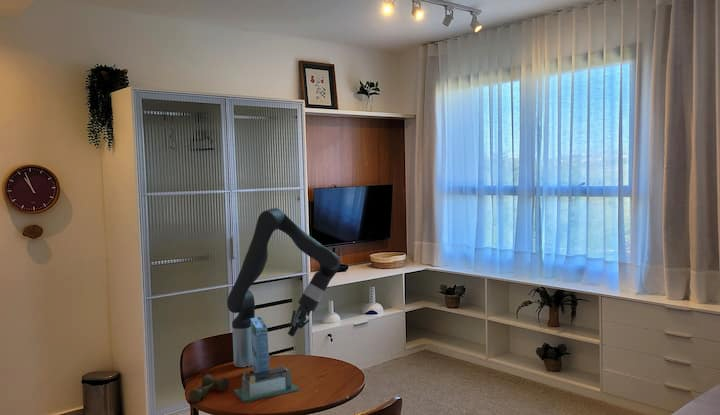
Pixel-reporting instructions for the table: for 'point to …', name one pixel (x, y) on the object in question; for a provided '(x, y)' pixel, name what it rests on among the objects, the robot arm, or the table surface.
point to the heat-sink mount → (265, 386)
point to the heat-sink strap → (268, 372)
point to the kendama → (208, 387)
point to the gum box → (259, 345)
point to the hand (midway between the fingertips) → (290, 335)
